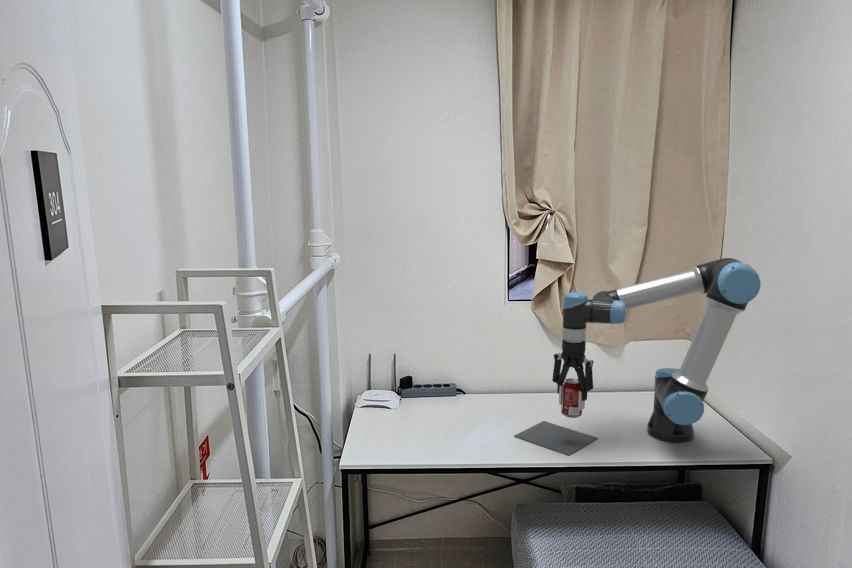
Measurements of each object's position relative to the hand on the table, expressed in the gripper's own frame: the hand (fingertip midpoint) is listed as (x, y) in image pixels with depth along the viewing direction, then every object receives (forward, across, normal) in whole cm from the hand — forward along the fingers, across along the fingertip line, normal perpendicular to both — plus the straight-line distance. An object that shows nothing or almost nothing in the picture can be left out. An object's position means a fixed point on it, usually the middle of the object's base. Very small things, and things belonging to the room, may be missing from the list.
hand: (571, 406), depth 210 cm
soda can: (+3, 0, 0) cm, 3 cm away
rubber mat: (+13, +6, 0) cm, 14 cm away
